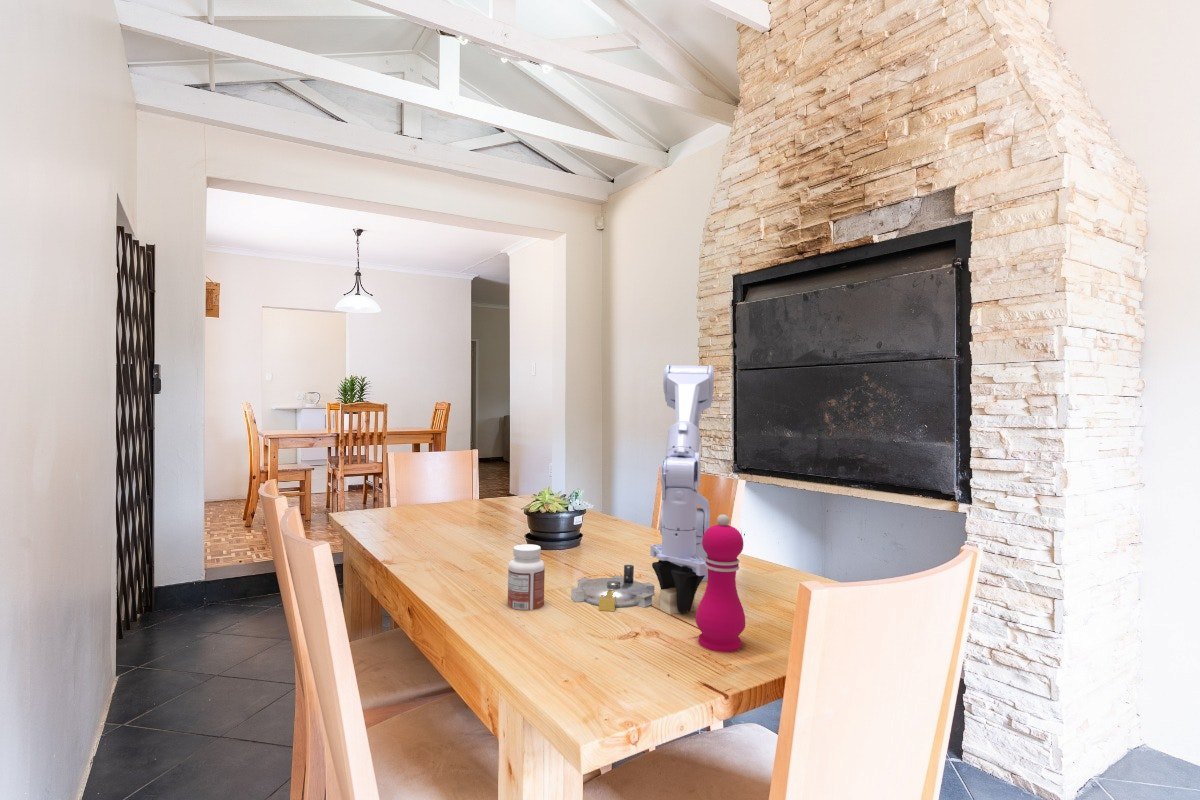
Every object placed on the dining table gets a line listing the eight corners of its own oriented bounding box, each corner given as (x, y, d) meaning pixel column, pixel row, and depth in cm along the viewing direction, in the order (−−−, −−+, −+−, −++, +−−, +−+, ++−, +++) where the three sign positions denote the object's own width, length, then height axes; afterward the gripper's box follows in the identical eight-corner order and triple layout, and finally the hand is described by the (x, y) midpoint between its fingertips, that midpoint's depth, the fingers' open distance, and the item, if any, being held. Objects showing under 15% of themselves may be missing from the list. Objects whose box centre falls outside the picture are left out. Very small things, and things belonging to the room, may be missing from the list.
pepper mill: (734, 664, 88) (738, 520, 88) (686, 652, 92) (690, 514, 92) (751, 648, 94) (755, 514, 94) (706, 637, 98) (709, 508, 98)
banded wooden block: (683, 606, 110) (684, 586, 110) (694, 612, 107) (694, 591, 107) (659, 610, 107) (660, 589, 107) (669, 616, 105) (670, 594, 105)
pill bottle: (536, 604, 112) (538, 541, 112) (549, 615, 106) (551, 549, 106) (502, 608, 109) (504, 544, 109) (513, 620, 103) (515, 552, 104)
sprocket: (582, 582, 122) (582, 557, 122) (656, 587, 120) (656, 562, 120) (564, 607, 107) (565, 579, 107) (649, 614, 104) (650, 585, 104)
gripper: (636, 521, 112) (634, 598, 112) (685, 537, 99) (682, 624, 99) (669, 519, 115) (667, 593, 115) (720, 534, 102) (718, 618, 102)
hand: (676, 607), depth 107 cm, fingers open, 4 cm apart
